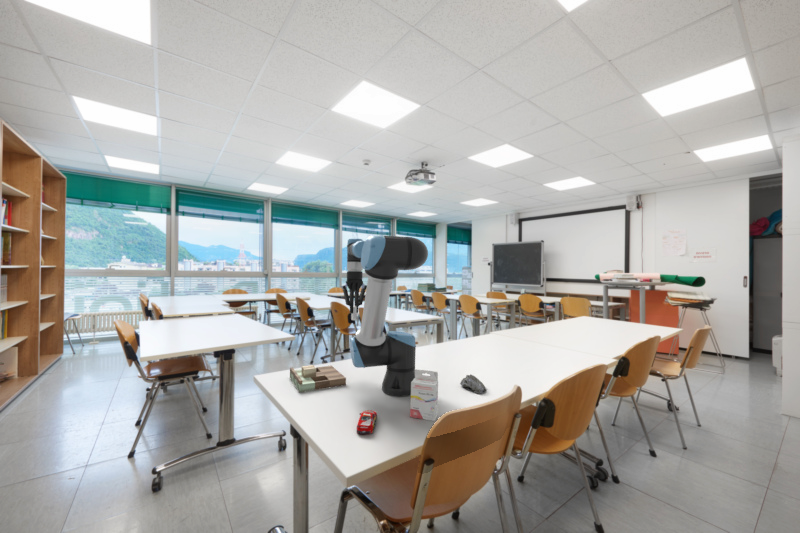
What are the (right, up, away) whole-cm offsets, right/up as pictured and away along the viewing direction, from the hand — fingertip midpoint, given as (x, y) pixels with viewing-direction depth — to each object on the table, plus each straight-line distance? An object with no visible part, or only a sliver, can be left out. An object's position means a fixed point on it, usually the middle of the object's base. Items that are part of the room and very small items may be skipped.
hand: (353, 319), depth 157 cm
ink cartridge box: (+30, -25, -48) cm, 62 cm away
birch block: (-17, -21, -17) cm, 32 cm away
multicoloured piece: (-14, -24, -16) cm, 32 cm away
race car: (+12, -24, -55) cm, 61 cm away
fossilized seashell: (+52, -26, -21) cm, 62 cm away
